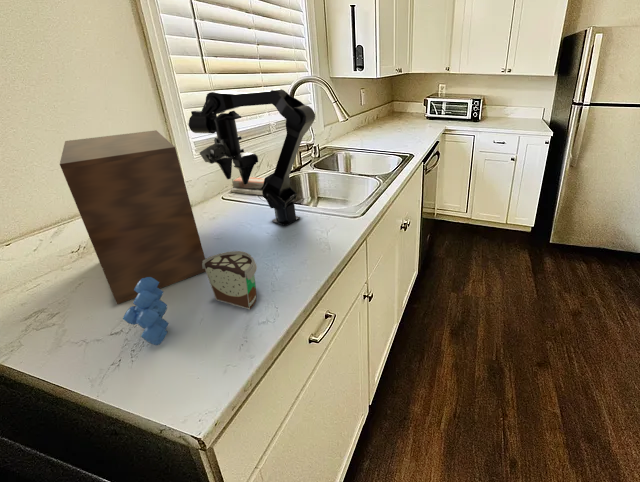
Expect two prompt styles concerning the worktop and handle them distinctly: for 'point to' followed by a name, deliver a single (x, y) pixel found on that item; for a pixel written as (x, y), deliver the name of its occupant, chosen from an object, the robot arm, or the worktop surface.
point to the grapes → (148, 311)
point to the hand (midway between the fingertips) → (237, 181)
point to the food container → (232, 278)
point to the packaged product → (248, 186)
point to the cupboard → (134, 209)
